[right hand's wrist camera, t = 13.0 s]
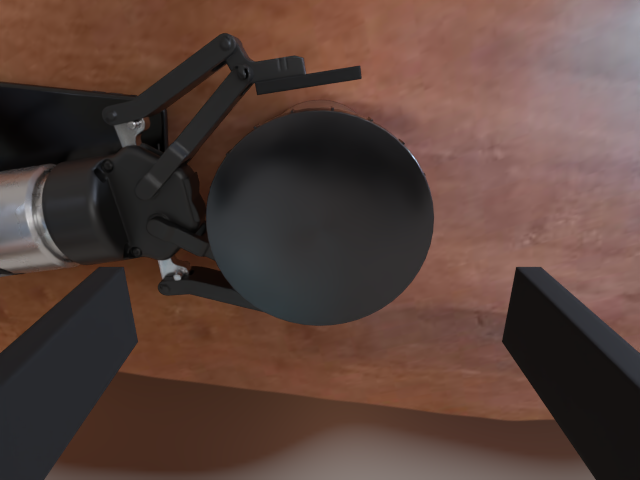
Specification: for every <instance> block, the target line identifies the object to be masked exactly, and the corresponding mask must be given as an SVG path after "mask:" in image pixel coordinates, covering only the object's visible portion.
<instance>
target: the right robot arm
mask: <svg viewBox="0 0 640 480" xmlns="http://www.w3.org/2000/svg"><path fill="white" fill-rule="evenodd" d="M137 342H138V340H137V334H136V329H135V324H134V318H133V313H132V308H131V303H130V297H129V292H128V287H127V282H126V276H125V271H124V267H99V268H97V269H96V270H95V271H94V272H93V273H92V274H91V275H89V276H88V277H87V278H86V279H85V280H84V281H83V282H81V283H80V284H79V285H78V286H77V287H76V288H75V289H73V290H72V291H71V292H70V293H69V294H68V295H67V296H65V297H64V298H63V299H62V300H61V301H60V302H58V303H57V304H56V305H55V306H54V307H53V308H52V309H50V310H49V311H48V312H47V313H46V314H45V315H44V316H42V317H41V318H40V319H39V320H38V321H37V322H36V323H34V324H33V325H32V326H31V327H30V328H29V329H28V330H26V331H25V332H24V333H23V334H22V335H21V336H20V337H18V338H17V339H16V340H15V341H14V342H13V343H11V344H10V345H9V346H8V347H7V348H6V349H5V350H3V351H2V352H1V353H0V480H44V479H45V477H46V476H47V475H48V473H49V472H50V470H51V469H52V467H53V466H54V464H55V463H56V461H57V460H58V458H59V457H60V455H61V454H62V453H63V451H64V450H65V448H66V447H67V445H68V444H69V442H70V441H71V439H72V438H73V436H74V435H75V433H76V432H77V430H78V429H79V428H80V426H81V425H82V423H83V422H84V420H85V419H86V417H87V416H88V414H89V413H90V411H91V410H92V408H93V407H94V405H95V404H96V403H97V401H98V400H99V398H100V397H101V395H102V394H103V392H104V391H105V389H106V388H107V386H108V385H109V384H110V382H111V381H112V379H113V378H114V376H115V375H116V373H117V372H118V370H119V369H120V367H121V366H122V364H123V363H124V361H125V360H126V359H127V357H128V356H129V354H130V353H131V351H132V350H133V348H134V347H135V345H136V344H137ZM502 342H503V344H504V345H505V347H506V348H507V350H508V351H509V353H510V354H511V356H512V357H513V359H514V360H515V361H516V363H517V364H518V366H519V367H520V369H521V370H522V372H523V373H524V375H525V376H526V378H527V379H528V381H529V382H530V384H531V385H532V386H533V388H534V389H535V391H536V392H537V394H538V395H539V397H540V398H541V400H542V401H543V403H544V404H545V406H546V407H547V408H548V410H549V411H550V413H551V414H552V416H553V417H554V419H555V420H556V422H557V423H558V425H559V426H560V428H561V429H562V431H563V432H564V433H565V435H566V436H567V438H568V439H569V441H570V442H571V444H572V445H573V447H574V448H575V450H576V451H577V453H578V454H579V455H580V457H581V458H582V460H583V461H584V463H585V464H586V466H587V467H588V469H589V470H590V472H591V473H592V475H593V476H594V478H595V479H596V480H640V353H639V352H638V351H637V350H635V349H634V348H633V347H632V346H631V345H630V344H629V343H627V342H626V341H625V340H624V339H623V338H622V337H620V336H619V335H618V334H617V333H616V332H615V331H614V330H612V329H611V328H610V327H609V326H608V325H607V324H606V323H604V322H603V321H602V320H601V319H600V318H599V317H598V316H596V315H595V314H594V313H593V312H592V311H591V310H590V309H588V308H587V307H586V306H585V305H584V304H583V303H582V302H580V301H579V300H578V299H577V298H576V297H575V296H573V295H572V294H571V293H570V292H569V291H568V290H567V289H565V288H564V287H563V286H562V285H561V284H560V283H559V282H557V281H556V280H555V279H554V278H553V277H552V276H551V275H549V274H548V273H547V272H546V271H545V270H544V269H543V268H541V267H516V271H515V276H514V282H513V287H512V292H511V297H510V303H509V308H508V313H507V318H506V324H505V329H504V334H503V340H502Z"/></svg>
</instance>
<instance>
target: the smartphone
mask: <svg viewBox="0 0 640 480" xmlns="http://www.w3.org/2000/svg"><path fill="white" fill-rule="evenodd" d="M136 97H138V96H137V95H124V94H119V93H106V92H100V91H86V90H76V89H67V88H57V87H47V86H38V85H28V84H19V83H9V82H0V171H6V170H13V169H19V168H25V167H32V166H38V165H44V164H56V165H57V164H59V163H61V162H65V161H71V160H77V159H84V158H91V157H97V156H104V155H110V154H116V153H117V152H119V151H120V150H121V149H122V145H121V142H120V140H119V137H118V135H117V132H116V130H115V127H114V125H113V126H111V125H109V124H107V123H106V122H105V121H104V120H103V117H102V111H103V109H104V108H105V107H107V106H111V105H115V104H119V103H123V102H127V101H132V100H134V99H135V98H136ZM149 120H150V127H149V129H148V130H146V131H145V132H143V133H142V135H141V142H142V143H145V144H147V145H149V146H151V147H153V148H155V149H157V150H159V151H161V152H163V153H164V152H165V151H166V149H167V148H168V123H167V110H166V109H165V110H163V111H161V112H160V113H158V114H156V115H154V116H151V117H149Z"/></svg>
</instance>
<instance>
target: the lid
mask: <svg viewBox="0 0 640 480" xmlns="http://www.w3.org/2000/svg"><path fill="white" fill-rule="evenodd" d="M404 144H405V143H404V142H403V141H401V140H400V139H399V140H398V139H397V138H396V137H395V136H394V135H392V134H391V133H390V132H388V131H387V130H386V129H384V128H383V127H382V126H381V125H379V124H377V123H375V122H373V119H371V118H370V117H368V118H366V117H363V116H361V115H358V114H356V113H353V112H349V111H345V110H340V109H334V107H333V106H331V108H306V109H300V110H294V109H292V110H291V112H287V113H284V114H281V115H278V116H276V117H274V118H272V119H270V120H268V121H266V122H264V123H263V124H261V125H259V124H257V125H256V126H255V127H254V130H252V131H251V132H250V133H249V134H247V135H246V136H245V137H244V138H243V139H242V140H241V141H240V142H238V143H237V144H236V145H235V146H234V148H233V149H231V150H230V151H229V152H228V153H227V154H226V157H225V159H224V160H223V162H222V164H221V165H220V167H219V168H218V170H217V172H216V175H215V177H214V179H213V182H212V184H211V186H210V191H209V195H208V200H207V207H206V229H207V235H208V241H209V244H210V248H211V251H212V254H213V256H214V259H215V261H216V263H217V265H218V267H219V269H220V270H221V272H222V274H223V275H224V277H225V278H226V280H227V281H228V282H229V283H230V285H231V286H232V287H233V288H234V289H235V290H236V291H237V292H238V293H239V294H240V295H241V296H242V297H243V298H244V299H246V300H247V301H248V302H250V303H251V304H252V305H253V306H255V307H257V308H258V309H260V310H262V311H264V312H265V313H267V314H270V315H272V316H274V317H276V318H279V319H282V320H286V321H289V322H293V323H298V324H303V325H315V326H322V325H335V324H342V323H347V322H351V321H354V320H358V319H360V318H363V317H365V316H368V315H370V314H372V313H374V312H376V311H378V310H380V309H382V308H383V307H385V306H386V305H387V304H389V303H390V302H392V301H393V300H394V299H395V298H396V297H398V296H399V295H400V294H401V293H402V292H403V291H404V290H405V289H406V288H407V287H408V285H409V284H410V283H411V282H412V281H413V279H414V278H415V276H416V275H417V273H418V272H419V270H420V268H421V266H422V264H423V262H424V260H425V258H426V256H427V253H428V250H429V247H430V244H431V239H432V234H433V224H434V211H433V201H432V197H431V192H430V188H429V186H428V183H427V180H426V177H425V173H423V171H422V169H421V168H420V166H419V164H418V162H417V161H416V159H415V158H414V157H413V155H412V154H411V153H410V151H409V150H408V149H407V148H406V147H405V146H404Z"/></svg>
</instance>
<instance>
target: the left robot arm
mask: <svg viewBox="0 0 640 480" xmlns="http://www.w3.org/2000/svg"><path fill="white" fill-rule="evenodd" d="M226 64H227V65H228V66H229V68H230V70H231V73H230V74H229V75H228V76H227V78H226V79H225V80H224V81H223V82H222V84H221V85H220V86H219V87H218V89H217V90H216V91H215V92H214V94H213V95H212V96H211V97H210V98H209V100H208V101H207V102H206V103H205V105H204V106H203V107H202V108H201V110H200V111H199V112H198V113H197V114H196V116H195V117H194V118H193V119H192V121H191V122H190V123H189V124H188V125H187V127H186V128H185V129H184V130H183V132H182V133H181V134H180V135H179V137H178V138H177V139H176V140H175V141H174V142H173V143H172V144H171V145H170V146H169V147H168V148H167V149H166V151H165V152H164V153H163V152H161V151H159V150H157V149H155V148H153V147H151V146H149V145H147V144H145V143H142V142H141V135H142V133H143V132H145V131H146V130H148V129H149V127H150V120H149V117H151V116H154V115H156V114H158V113H160V112H161V111H163V110H165V109H166V108H167V107H169V106H170V105H171V104H173V103H174V102H176V101H177V100H178V99H180V98H181V97H182V96H184V95H185V94H186V93H188V92H189V91H191V90H192V89H193V88H195V87H196V86H197V85H199V84H200V83H202V82H203V81H204V80H206V79H207V78H208V77H210V76H211V75H212V74H214V73H215V72H217V71H218V70H219V69H221V68H222V67H223V66H225V65H226ZM357 79H361V69H360V66H355V67H348V68H342V69H336V70H329V71H323V72H317V73H311V74H306V70H305V63H304V58H302V57H298V56H289V57H283V58H277V59H270V60H264V61H258V62H254V61H253V60H251V59H250V58H249V57H248V55H247V53H246V52H245V50H244V48H243V46H242V43H241V41H240V40H239V39H238V38H236V37H234V36H232V35H230V34H227V33H223V34H220V35H219V36H217V37H216V38H215V39H213V40H212V41H211V42H209V43H208V44H207V45H205V46H204V47H203V48H201V49H200V50H199V51H197V52H196V53H195V54H193V55H192V56H191V57H189V58H188V59H187V60H185V61H184V62H183V63H181V64H180V65H179V66H177V67H176V68H175V69H173V70H172V71H171V72H170V73H168V74H167V75H166V76H164V77H163V78H162V79H160V80H159V81H158V82H156V83H155V84H154V85H152V86H151V87H150V88H148V89H147V90H146V91H144V92H143V93H142V94H140V95H139V96H138V97H136V98H135V99H134V100H132V101H127V102H123V103H119V104H115V105H111V106H107V107H105V108H104V109H103V111H102V117H103V120H104V121H105V122H106V123H107V124H109V125H111V126H113V125H114V127H115V130H116V132H117V135H118V137H119V140H120V142H121V145H122V149H121V150H120V151H119V152H117V153H116V154H110V155H104V156H97V157H91V158H84V159H77V160H71V161H65V162H61V163H59V164H57V165H56V164H44V165H38V166H32V167H25V168H19V169H13V170H6V171H0V277H3V276H9V275H17V274H24V273H31V272H39V271H47V270H55V269H63V268H71V267H76V266H78V265H80V264H82V265H91V264H99V263H106V262H113V261H120V260H128V259H133V258H138V257H149V258H153V259H156V260H158V263H159V267H160V271H161V276H162V281H161V282H160V283H159V285H158V290H159V292H160V293H161V294H163V295H183V294H191V295H196V296H200V297H204V298H208V299H212V300H216V301H220V302H224V303H229V304H233V305H237V306H241V307H245V308H249V309H253V310H257V311H262V310H260V309H258V308H257V307H255V306H253V305H252V304H251V303H250V302H248V301H247V300H246V299H244V298H243V297H242V296H241V295H240V294H239V293H238V292H237V291H236V290H235V289H234V288H233V287H232V286H231V285H230V283H229V282H228V281H227V280H226V278H225V277H224V275H223V274H222V272H221V271H218V270H214V269H210V268H205V267H199V266H191V265H190V263H189V262H188V261H181V260H179V259H177V258H176V256H175V254H176V253H177V252H178V251H179V250H180V249H181V248H183V249H185V250H187V251H189V252H191V253H193V254H195V255H197V256H200V257H203V256H206V257H208V258H210V259H213V260H215V259H214V256H213V254H212V251H211V248H210V244H209V241H208V235H207V229H206V221H205V215H206V206H205V203H204V201H203V199H202V197H201V195H200V193H199V179H198V175H197V172H195V173H194V171H193V170H192V169H191V168H190V166H188V165H187V163H188V162H189V161H190V160H191V158H192V157H193V156H194V155H195V154H196V152H197V151H198V150H199V148H200V147H201V145H202V144H203V143H204V142H205V141H206V140H207V138H208V137H209V136H210V135H211V134H212V132H213V131H214V130H215V129H216V128H217V126H218V125H219V124H220V123H221V122H222V120H223V119H224V118H225V117H226V116H227V115H228V113H229V112H230V111H231V110H232V109H233V107H234V106H235V105H236V104H237V103H238V101H239V100H240V99H241V98H242V97H243V95H244V94H245V93H246V92H247V91H248V90H249V88H250V87H251V86H252V85H253V84H254V83H255V86H256V91H257V95H261V94H267V93H274V92H280V91H287V90H293V89H299V88H306V87H312V86H319V85H325V84H331V83H338V82H344V81H350V80H357ZM262 312H264V311H262Z"/></svg>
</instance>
